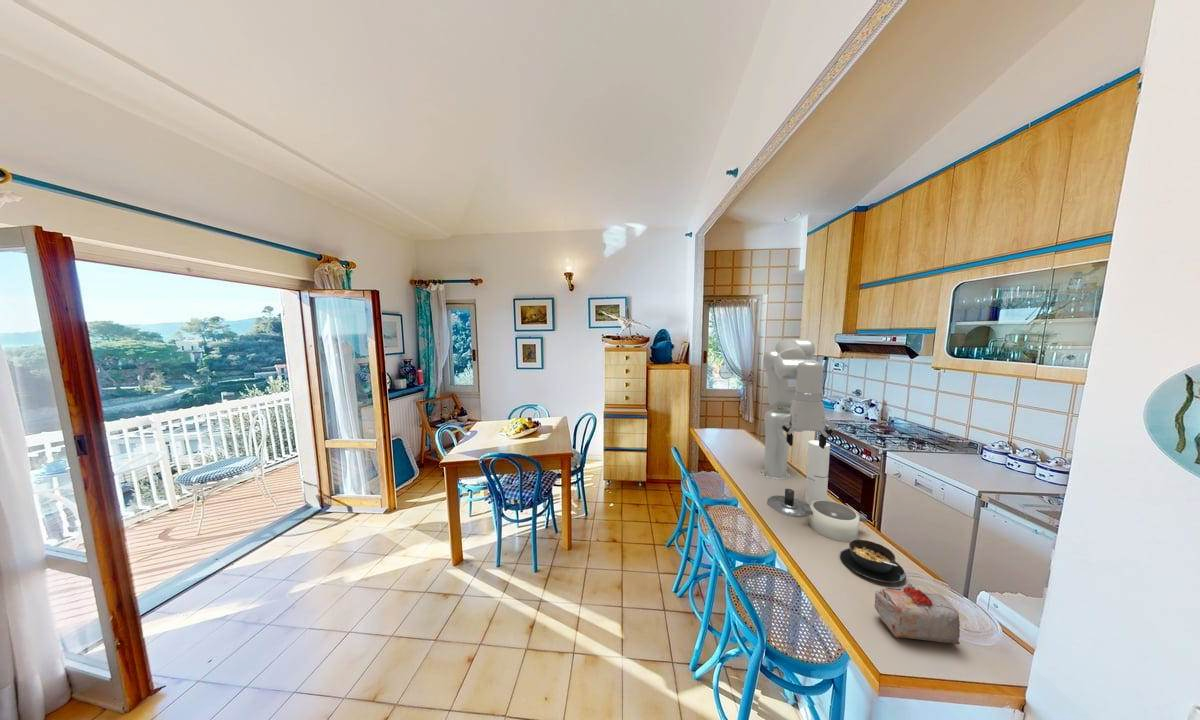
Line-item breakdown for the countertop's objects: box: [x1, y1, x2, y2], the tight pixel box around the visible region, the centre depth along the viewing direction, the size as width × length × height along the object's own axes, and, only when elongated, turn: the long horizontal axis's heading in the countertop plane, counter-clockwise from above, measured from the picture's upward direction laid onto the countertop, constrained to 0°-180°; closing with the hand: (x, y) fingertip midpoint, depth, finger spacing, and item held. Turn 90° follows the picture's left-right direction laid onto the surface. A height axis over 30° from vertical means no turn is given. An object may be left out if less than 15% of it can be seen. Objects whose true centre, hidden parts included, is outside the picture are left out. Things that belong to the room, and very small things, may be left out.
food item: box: [873, 582, 961, 645], centre depth 77 cm, size 14×8×10 cm, turn 81°
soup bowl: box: [839, 539, 907, 584], centre depth 97 cm, size 15×16×7 cm
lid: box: [766, 488, 810, 518], centre depth 130 cm, size 15×15×7 cm
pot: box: [803, 500, 868, 543], centre depth 116 cm, size 14×18×7 cm
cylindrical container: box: [804, 439, 831, 505], centre depth 132 cm, size 7×7×25 cm
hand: (805, 445), depth 115 cm, fingers open, 9 cm apart
